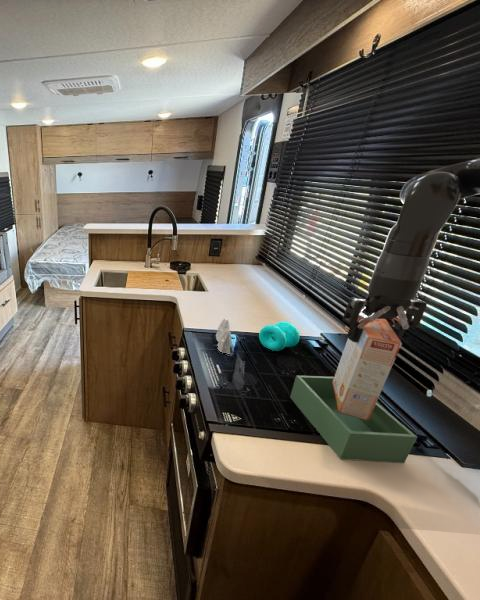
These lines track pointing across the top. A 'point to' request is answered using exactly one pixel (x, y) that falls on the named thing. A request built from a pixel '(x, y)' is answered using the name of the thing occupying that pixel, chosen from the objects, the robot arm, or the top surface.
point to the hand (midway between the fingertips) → (372, 341)
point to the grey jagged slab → (224, 337)
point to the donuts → (279, 336)
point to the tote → (351, 424)
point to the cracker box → (365, 369)
